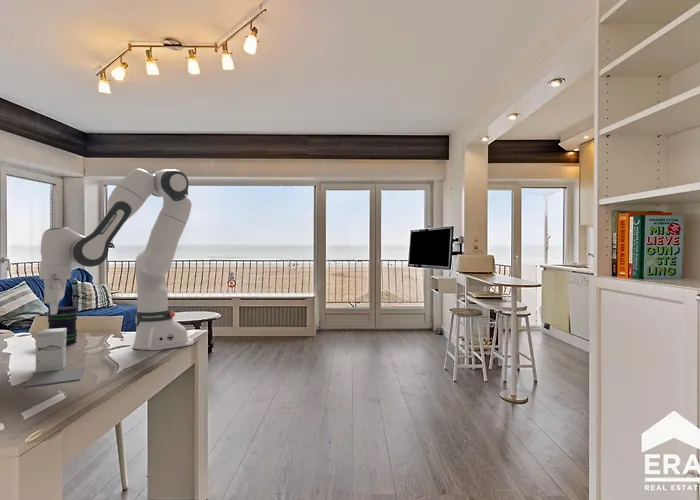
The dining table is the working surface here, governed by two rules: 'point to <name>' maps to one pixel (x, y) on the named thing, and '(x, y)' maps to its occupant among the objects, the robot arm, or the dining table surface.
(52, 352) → the supplement box
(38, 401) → the dining table surface
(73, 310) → the storage jar
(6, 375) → the dining table surface
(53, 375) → the mat
